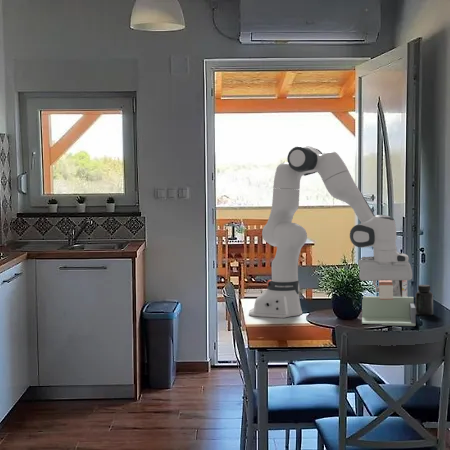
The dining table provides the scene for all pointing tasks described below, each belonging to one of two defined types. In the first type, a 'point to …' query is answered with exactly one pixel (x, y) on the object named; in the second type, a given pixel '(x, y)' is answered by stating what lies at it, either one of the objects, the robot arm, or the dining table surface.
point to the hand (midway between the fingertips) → (385, 291)
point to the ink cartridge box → (404, 288)
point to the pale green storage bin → (388, 311)
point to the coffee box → (397, 289)
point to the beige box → (386, 290)
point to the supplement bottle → (424, 301)
